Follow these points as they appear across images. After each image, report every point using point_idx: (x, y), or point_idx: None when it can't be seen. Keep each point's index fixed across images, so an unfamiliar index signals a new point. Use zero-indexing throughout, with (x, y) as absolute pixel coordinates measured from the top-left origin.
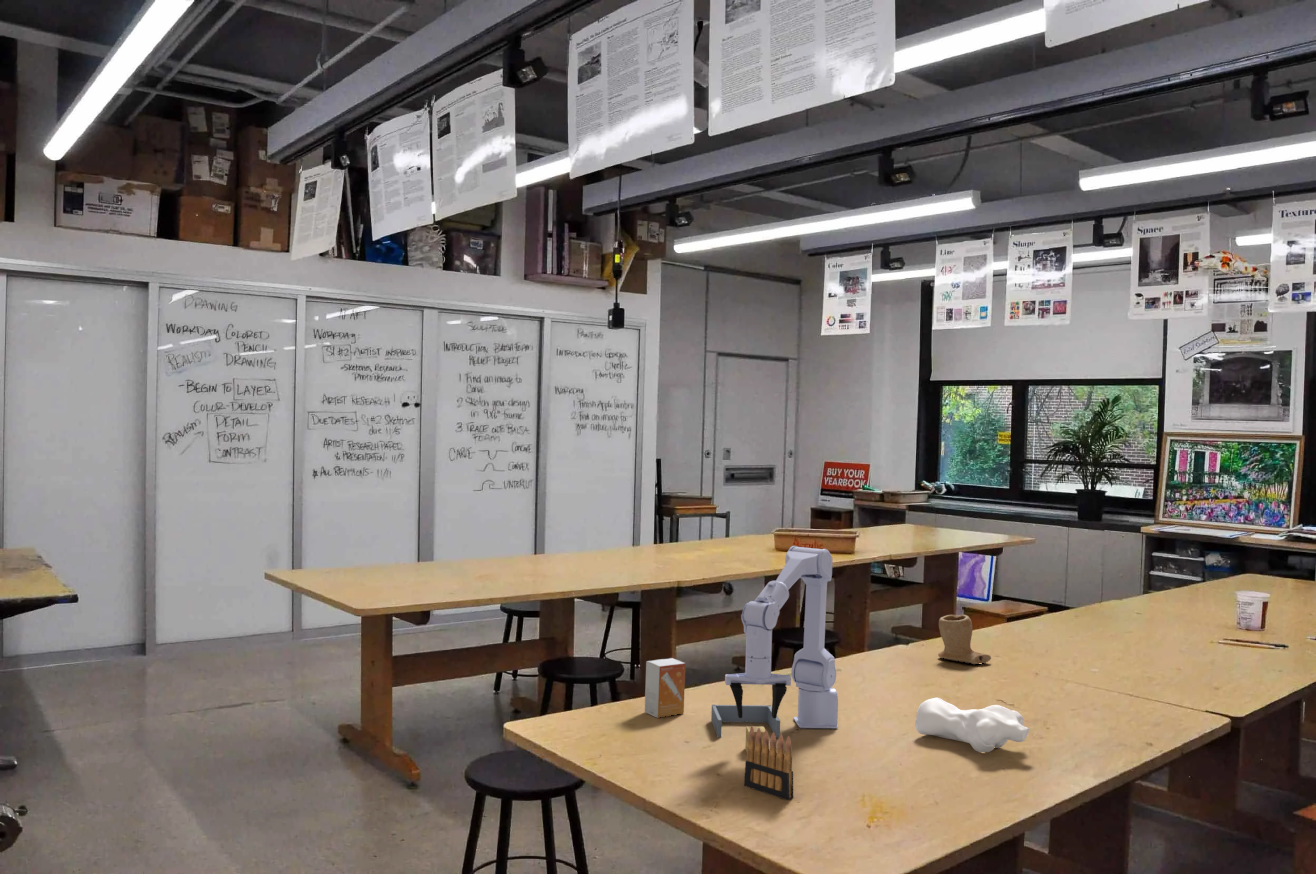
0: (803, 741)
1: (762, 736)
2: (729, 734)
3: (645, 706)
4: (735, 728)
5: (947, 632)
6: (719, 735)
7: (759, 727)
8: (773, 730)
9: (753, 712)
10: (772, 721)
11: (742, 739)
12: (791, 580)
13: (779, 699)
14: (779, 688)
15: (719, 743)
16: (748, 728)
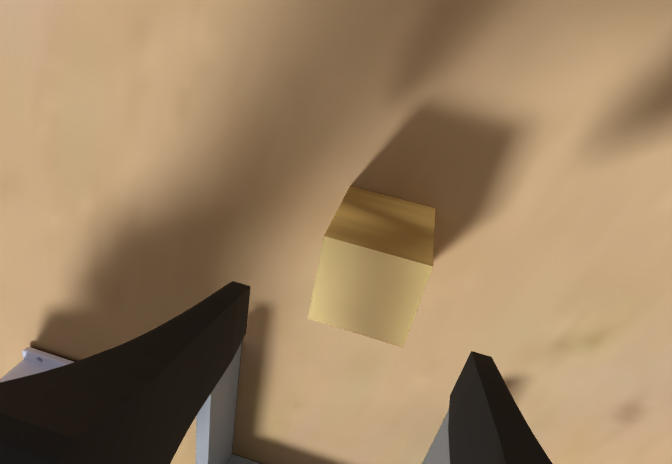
0: (153, 282)
1: (353, 230)
2: (402, 417)
3: None
4: (354, 451)
5: None
6: None
7: (335, 313)
8: (234, 388)
9: None
10: (222, 425)
11: (376, 364)
12: None
13: (124, 357)
14: (16, 449)
15: (495, 356)
16: (405, 316)
